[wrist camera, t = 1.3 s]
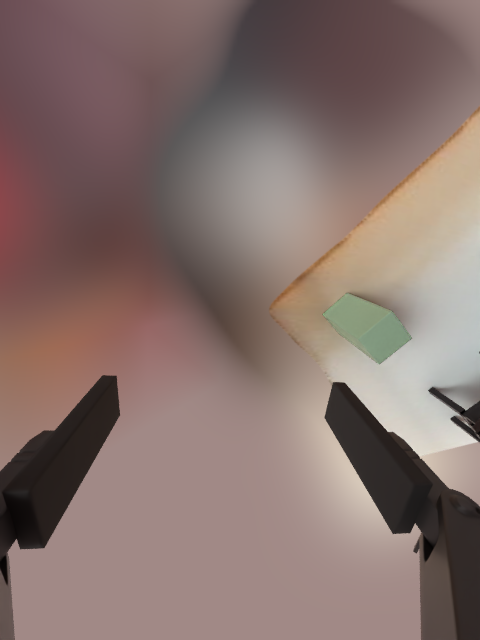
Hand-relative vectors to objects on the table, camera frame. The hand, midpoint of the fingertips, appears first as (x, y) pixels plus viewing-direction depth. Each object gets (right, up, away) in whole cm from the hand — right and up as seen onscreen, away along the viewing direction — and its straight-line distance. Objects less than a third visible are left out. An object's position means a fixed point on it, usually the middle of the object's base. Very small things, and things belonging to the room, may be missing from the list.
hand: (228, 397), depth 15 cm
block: (+17, +6, +23) cm, 30 cm away
